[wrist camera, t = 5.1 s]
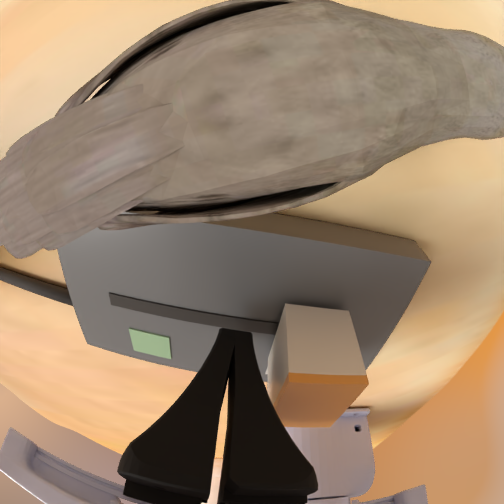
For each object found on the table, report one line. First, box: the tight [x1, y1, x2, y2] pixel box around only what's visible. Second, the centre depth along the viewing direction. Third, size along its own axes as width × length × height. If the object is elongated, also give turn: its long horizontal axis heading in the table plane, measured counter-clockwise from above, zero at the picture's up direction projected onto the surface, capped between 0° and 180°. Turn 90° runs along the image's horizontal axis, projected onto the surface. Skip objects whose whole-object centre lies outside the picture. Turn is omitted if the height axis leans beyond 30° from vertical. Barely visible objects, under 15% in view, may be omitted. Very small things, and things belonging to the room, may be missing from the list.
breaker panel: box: [57, 211, 431, 382], centre depth 14 cm, size 18×10×2 cm, turn 82°
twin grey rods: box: [0, 267, 73, 306], centre depth 14 cm, size 12×6×1 cm, turn 82°
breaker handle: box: [267, 303, 369, 427], centre depth 11 cm, size 3×4×4 cm
